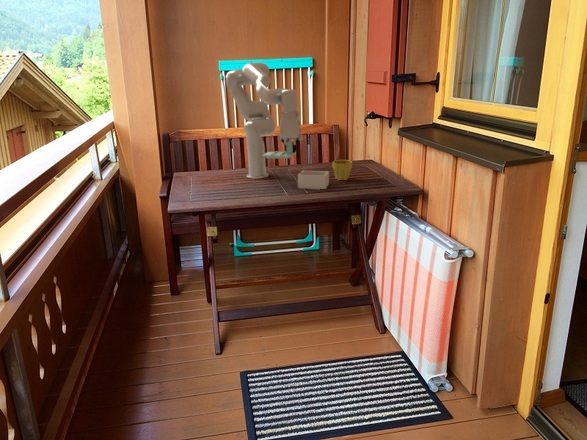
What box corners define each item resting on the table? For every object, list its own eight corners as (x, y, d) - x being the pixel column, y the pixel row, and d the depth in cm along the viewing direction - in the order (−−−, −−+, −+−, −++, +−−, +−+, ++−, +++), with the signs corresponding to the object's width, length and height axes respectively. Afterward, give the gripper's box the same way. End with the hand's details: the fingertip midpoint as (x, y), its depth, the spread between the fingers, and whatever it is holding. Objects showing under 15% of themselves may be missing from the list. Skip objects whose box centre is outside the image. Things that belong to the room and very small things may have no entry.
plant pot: (349, 182, 241) (349, 164, 237) (330, 181, 244) (330, 163, 241) (353, 177, 250) (353, 160, 247) (335, 176, 253) (335, 159, 250)
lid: (268, 155, 240) (267, 140, 238) (296, 155, 236) (295, 140, 234) (262, 158, 231) (261, 143, 228) (291, 159, 227) (290, 143, 224)
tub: (302, 183, 240) (302, 170, 238) (328, 184, 237) (328, 171, 235) (298, 188, 231) (297, 175, 229) (325, 189, 228) (325, 175, 226)
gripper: (307, 114, 227) (308, 151, 233) (275, 114, 231) (277, 151, 237) (303, 116, 220) (304, 154, 226) (271, 116, 224) (273, 153, 230)
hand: (290, 152), depth 231 cm, fingers closed on lid, 3 cm apart
